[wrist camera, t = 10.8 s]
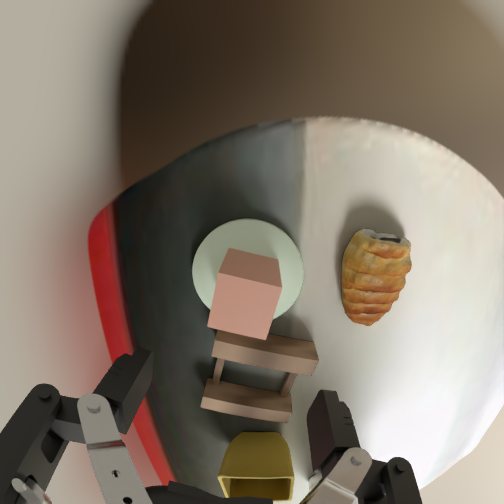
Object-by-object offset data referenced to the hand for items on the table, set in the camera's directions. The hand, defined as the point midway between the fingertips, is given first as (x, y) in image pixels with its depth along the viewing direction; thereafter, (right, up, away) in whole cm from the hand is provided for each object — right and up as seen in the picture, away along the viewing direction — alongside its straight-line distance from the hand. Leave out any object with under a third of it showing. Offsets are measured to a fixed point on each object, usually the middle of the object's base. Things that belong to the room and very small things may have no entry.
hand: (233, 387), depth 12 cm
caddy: (+1, -7, +17) cm, 19 cm away
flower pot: (+2, -21, +22) cm, 30 cm away
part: (+1, +4, +13) cm, 14 cm away
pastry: (+13, +5, +14) cm, 19 cm away
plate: (+1, +4, +14) cm, 15 cm away
